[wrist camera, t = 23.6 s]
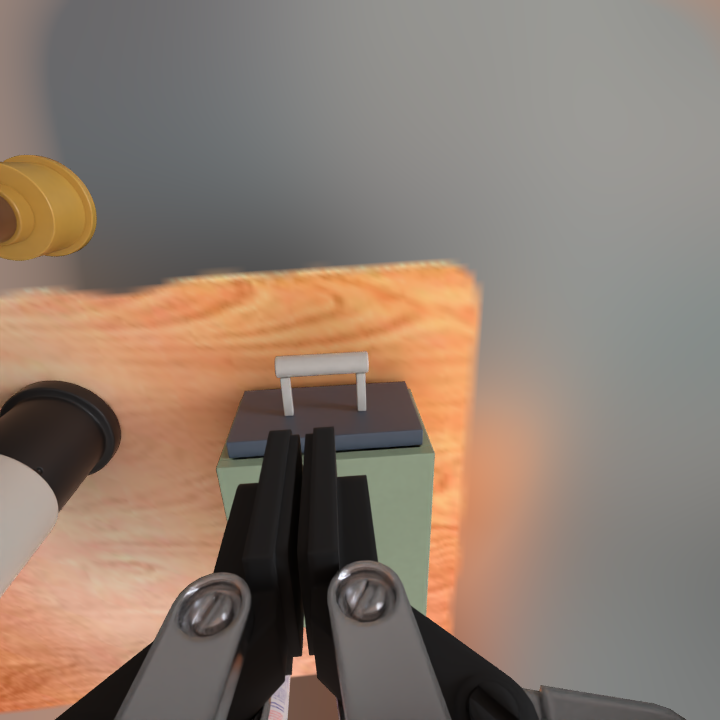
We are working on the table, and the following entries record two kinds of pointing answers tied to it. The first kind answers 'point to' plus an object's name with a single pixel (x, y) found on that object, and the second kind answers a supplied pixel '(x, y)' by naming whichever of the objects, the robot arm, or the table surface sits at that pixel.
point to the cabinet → (375, 503)
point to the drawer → (327, 408)
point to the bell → (42, 209)
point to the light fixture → (46, 462)
